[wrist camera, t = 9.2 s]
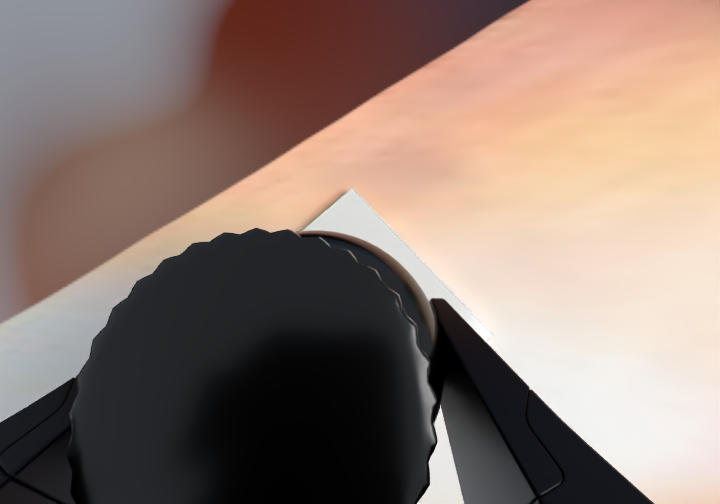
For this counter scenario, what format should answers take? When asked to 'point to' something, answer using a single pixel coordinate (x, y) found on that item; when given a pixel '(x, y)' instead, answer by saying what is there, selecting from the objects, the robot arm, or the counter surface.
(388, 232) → the plate
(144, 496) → the supplement bottle
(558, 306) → the counter surface
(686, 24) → the counter surface
